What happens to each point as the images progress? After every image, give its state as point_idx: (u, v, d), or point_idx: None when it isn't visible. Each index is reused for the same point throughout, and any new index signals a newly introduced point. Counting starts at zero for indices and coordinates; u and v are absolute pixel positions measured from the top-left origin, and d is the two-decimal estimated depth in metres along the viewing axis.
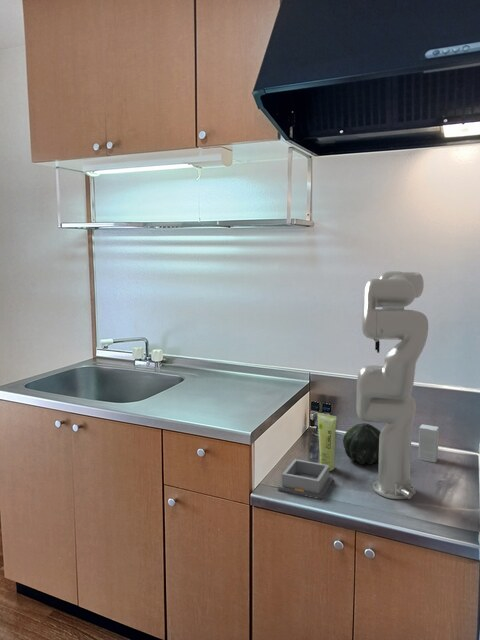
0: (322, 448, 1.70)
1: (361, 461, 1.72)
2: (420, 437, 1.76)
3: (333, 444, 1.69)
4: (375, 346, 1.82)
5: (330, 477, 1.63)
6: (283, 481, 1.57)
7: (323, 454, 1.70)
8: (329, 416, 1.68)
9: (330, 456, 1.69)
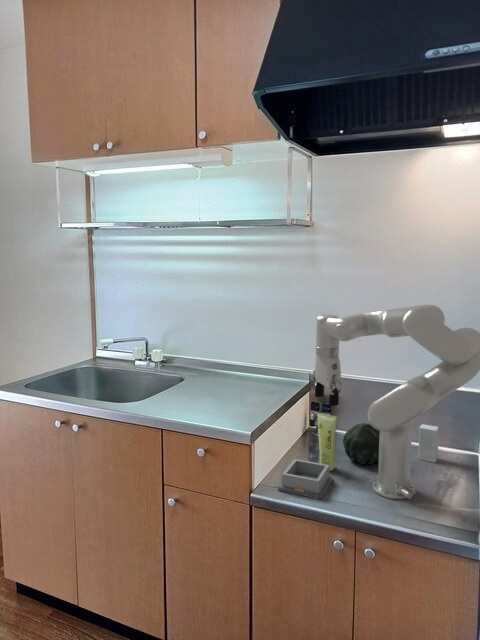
0: (322, 448, 1.70)
1: (361, 461, 1.72)
2: (420, 437, 1.76)
3: (333, 444, 1.69)
4: (337, 399, 1.63)
5: (330, 477, 1.63)
6: (283, 481, 1.57)
7: (323, 454, 1.70)
8: (329, 416, 1.68)
9: (330, 456, 1.69)
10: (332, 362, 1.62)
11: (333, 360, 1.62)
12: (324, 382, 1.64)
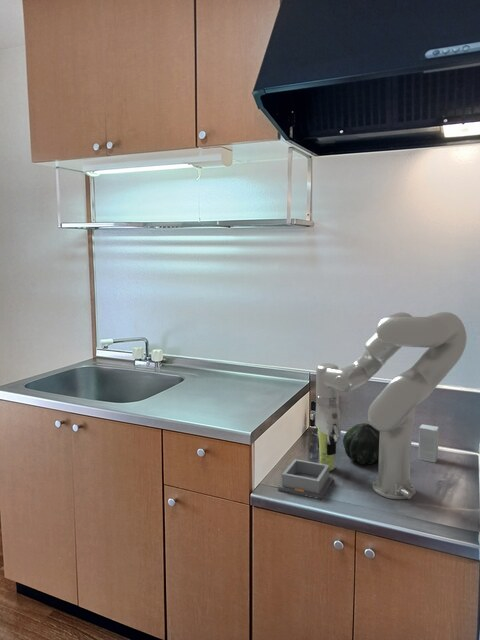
0: (322, 448, 1.70)
1: (361, 461, 1.72)
2: (420, 437, 1.76)
3: None
4: (334, 448, 1.67)
5: (330, 477, 1.63)
6: (283, 481, 1.57)
7: (322, 453, 1.70)
8: None
9: (330, 455, 1.69)
10: (332, 411, 1.64)
11: (333, 409, 1.64)
12: (325, 430, 1.67)
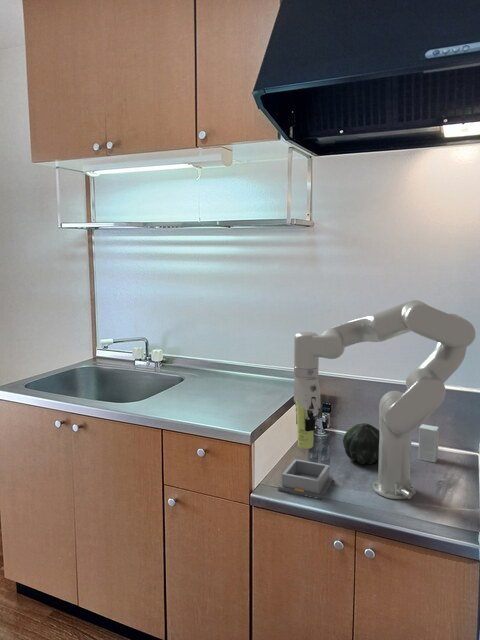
0: (300, 424, 1.56)
1: (361, 461, 1.72)
2: (420, 437, 1.76)
3: None
4: (313, 424, 1.54)
5: (330, 477, 1.63)
6: (283, 481, 1.57)
7: (300, 430, 1.56)
8: None
9: (308, 432, 1.55)
10: (311, 383, 1.51)
11: (312, 381, 1.51)
12: (303, 404, 1.53)
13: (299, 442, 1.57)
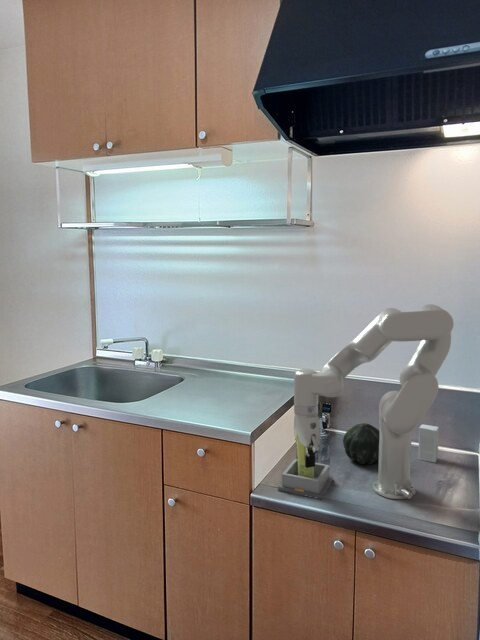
0: (300, 460, 1.58)
1: (361, 461, 1.72)
2: (420, 437, 1.76)
3: None
4: (313, 461, 1.56)
5: (330, 477, 1.63)
6: (283, 481, 1.57)
7: (301, 466, 1.58)
8: None
9: (308, 468, 1.57)
10: (310, 421, 1.53)
11: (311, 419, 1.53)
12: (303, 441, 1.55)
13: None
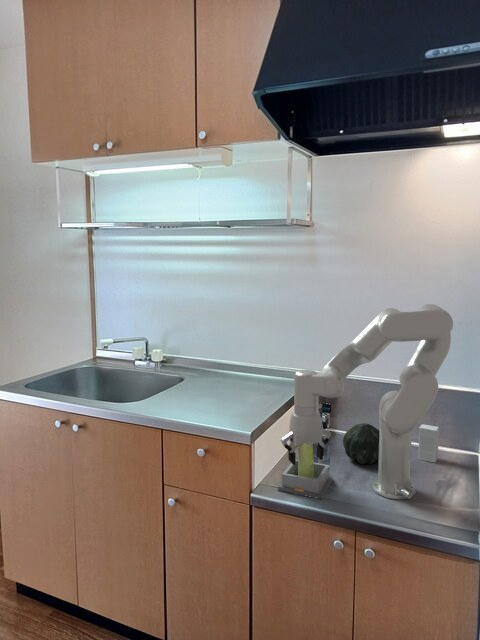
0: (310, 460, 1.58)
1: (361, 461, 1.72)
2: (420, 437, 1.76)
3: None
4: None
5: (330, 477, 1.63)
6: (283, 481, 1.57)
7: (311, 466, 1.58)
8: None
9: None
10: None
11: None
12: (316, 439, 1.57)
13: None
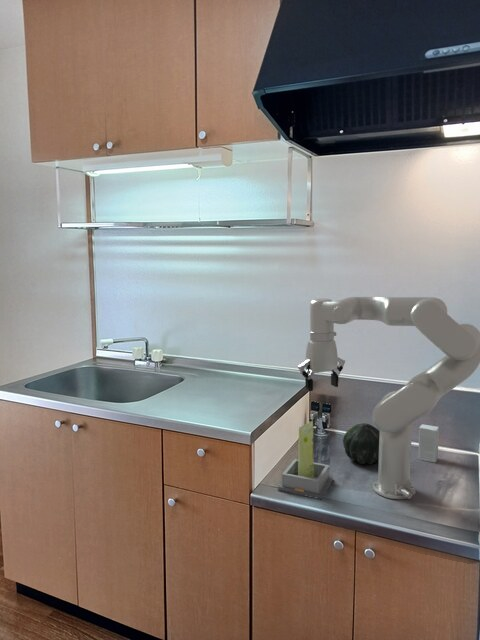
0: (310, 460, 1.58)
1: (361, 461, 1.72)
2: (420, 437, 1.76)
3: None
4: None
5: (330, 477, 1.63)
6: (283, 481, 1.57)
7: (311, 466, 1.58)
8: (308, 424, 1.58)
9: None
10: None
11: None
12: (332, 366, 1.62)
13: None
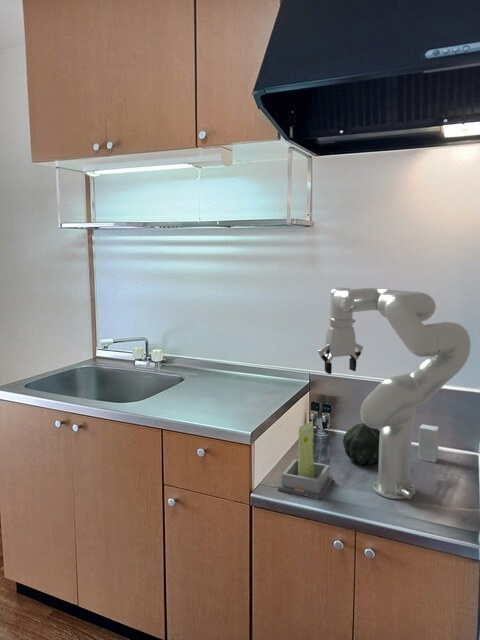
0: (310, 460, 1.58)
1: (361, 461, 1.72)
2: (420, 437, 1.76)
3: None
4: None
5: (330, 477, 1.63)
6: (283, 481, 1.57)
7: (311, 466, 1.58)
8: (308, 424, 1.58)
9: None
10: None
11: None
12: (350, 351, 1.72)
13: None
